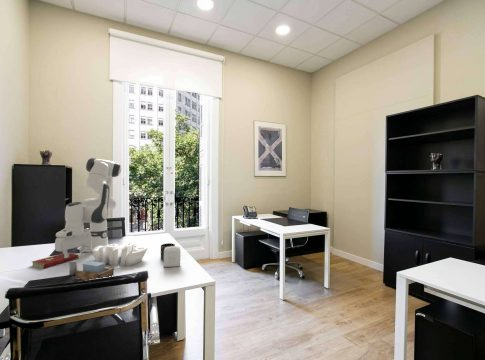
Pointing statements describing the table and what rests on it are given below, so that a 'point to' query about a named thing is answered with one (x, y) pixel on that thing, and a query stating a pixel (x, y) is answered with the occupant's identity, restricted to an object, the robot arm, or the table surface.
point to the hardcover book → (54, 260)
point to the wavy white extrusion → (119, 254)
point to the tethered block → (87, 267)
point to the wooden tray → (94, 274)
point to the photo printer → (172, 256)
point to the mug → (164, 248)
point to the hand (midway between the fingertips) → (74, 255)
